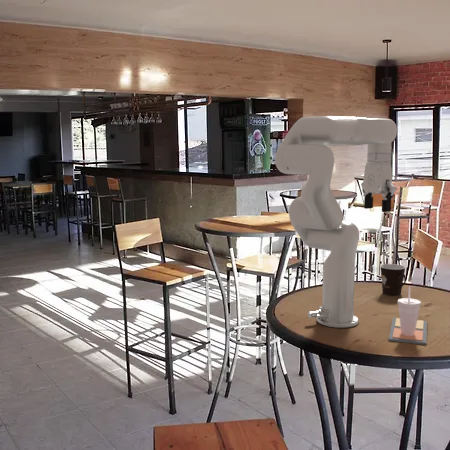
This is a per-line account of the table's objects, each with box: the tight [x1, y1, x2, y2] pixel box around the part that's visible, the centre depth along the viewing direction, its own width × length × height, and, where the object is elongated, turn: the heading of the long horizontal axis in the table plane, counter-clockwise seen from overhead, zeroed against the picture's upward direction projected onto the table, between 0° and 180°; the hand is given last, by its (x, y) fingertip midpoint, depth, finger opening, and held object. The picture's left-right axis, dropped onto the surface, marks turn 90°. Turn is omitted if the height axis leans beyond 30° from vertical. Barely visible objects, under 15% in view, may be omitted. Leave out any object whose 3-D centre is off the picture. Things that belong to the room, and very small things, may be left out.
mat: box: [388, 317, 428, 346], centre depth 169 cm, size 20×10×1 cm, turn 160°
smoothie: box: [396, 285, 422, 336], centre depth 164 cm, size 6×6×14 cm
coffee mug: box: [380, 263, 407, 297], centre depth 208 cm, size 12×9×10 cm
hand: (377, 210), depth 193 cm, fingers open, 9 cm apart
